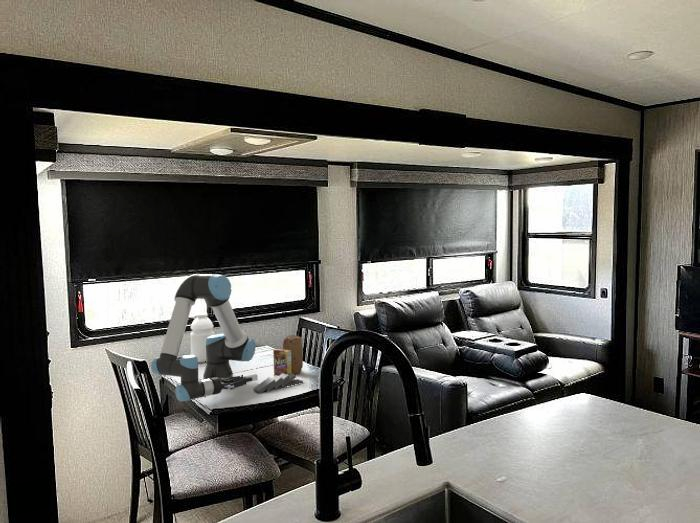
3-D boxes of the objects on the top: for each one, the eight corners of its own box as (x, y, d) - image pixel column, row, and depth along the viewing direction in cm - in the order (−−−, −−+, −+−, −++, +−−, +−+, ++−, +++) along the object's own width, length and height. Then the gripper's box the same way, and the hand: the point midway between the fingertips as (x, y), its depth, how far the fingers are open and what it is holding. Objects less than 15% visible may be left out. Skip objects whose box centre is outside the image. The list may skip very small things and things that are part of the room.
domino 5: (281, 383, 274) (297, 379, 280) (281, 386, 274) (297, 382, 280) (286, 385, 270) (303, 381, 276) (286, 388, 270) (303, 384, 277)
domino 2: (261, 387, 266) (275, 375, 272) (262, 389, 266) (276, 377, 273) (267, 388, 262) (282, 376, 269) (268, 391, 263) (283, 379, 269)
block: (304, 373, 295) (303, 336, 293) (293, 375, 290) (292, 338, 288) (292, 369, 303) (291, 333, 301) (281, 371, 298) (280, 335, 296)
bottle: (195, 356, 332) (194, 311, 330) (217, 356, 332) (216, 311, 330) (187, 362, 318) (186, 315, 316) (211, 362, 318) (209, 315, 316)
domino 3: (268, 385, 269) (282, 373, 275) (269, 387, 269) (283, 375, 276) (274, 386, 265) (288, 374, 272) (275, 389, 266) (289, 377, 272)
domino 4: (274, 383, 272) (288, 373, 279) (275, 385, 272) (289, 375, 279) (281, 384, 268) (295, 374, 275) (282, 387, 269) (296, 377, 276)
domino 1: (253, 388, 263) (269, 377, 269) (254, 391, 264) (270, 379, 270) (258, 391, 260) (274, 379, 265) (259, 393, 260) (275, 382, 266)
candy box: (273, 378, 286) (272, 349, 284) (278, 376, 289) (277, 347, 288) (287, 380, 281) (286, 351, 280) (292, 378, 285) (291, 349, 284)
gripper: (204, 391, 252) (250, 381, 267) (217, 398, 242) (263, 387, 257) (204, 375, 252) (250, 366, 267) (216, 381, 242) (263, 372, 256)
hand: (256, 377), depth 262 cm, fingers closed
